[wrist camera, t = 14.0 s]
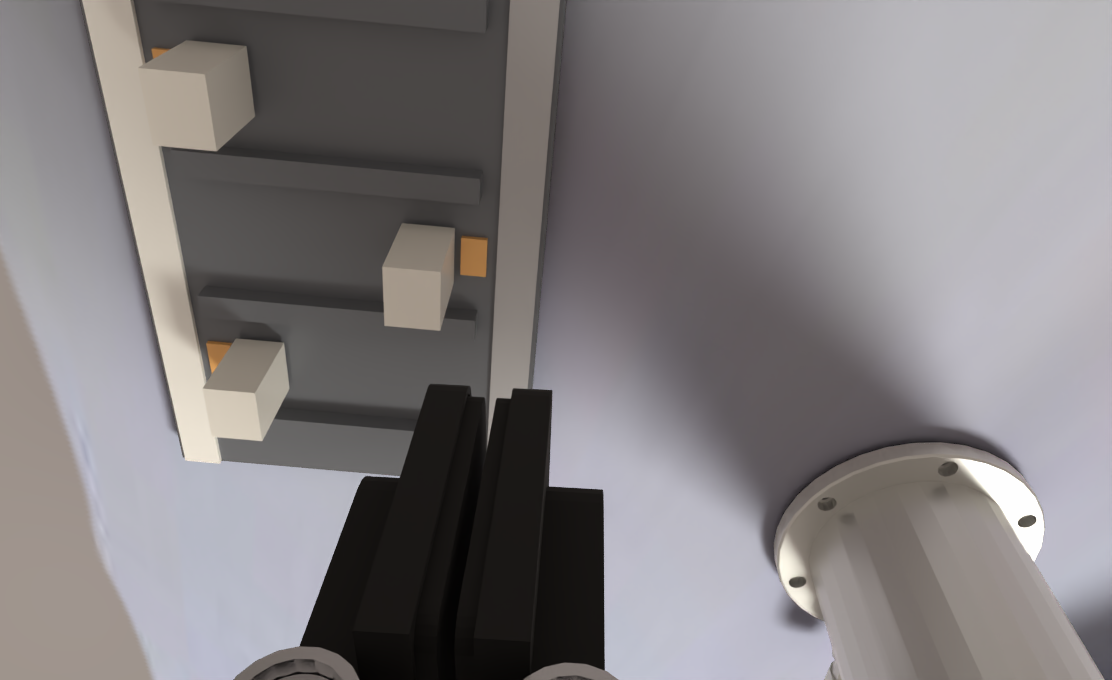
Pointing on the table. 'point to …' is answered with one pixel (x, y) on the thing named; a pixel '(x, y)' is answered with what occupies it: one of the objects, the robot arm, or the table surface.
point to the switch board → (341, 207)
